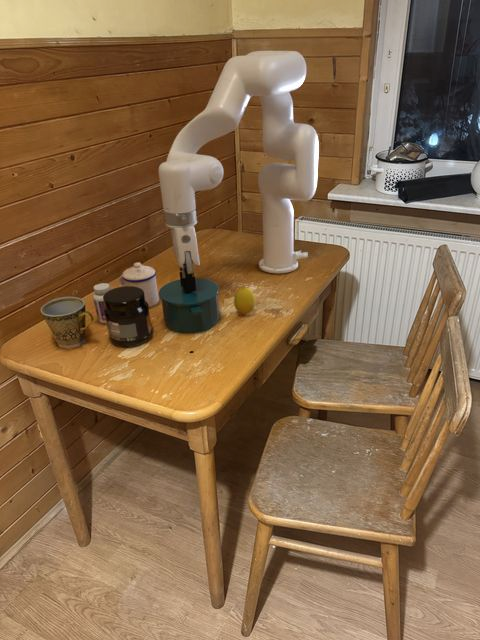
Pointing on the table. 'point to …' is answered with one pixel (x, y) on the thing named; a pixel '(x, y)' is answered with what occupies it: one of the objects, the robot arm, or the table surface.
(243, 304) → the lemon
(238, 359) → the table surface
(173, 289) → the cooker lid
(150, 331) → the supplement container
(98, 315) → the pill bottle
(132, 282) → the teacup with lid
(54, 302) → the ceramic cup
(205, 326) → the cooker
